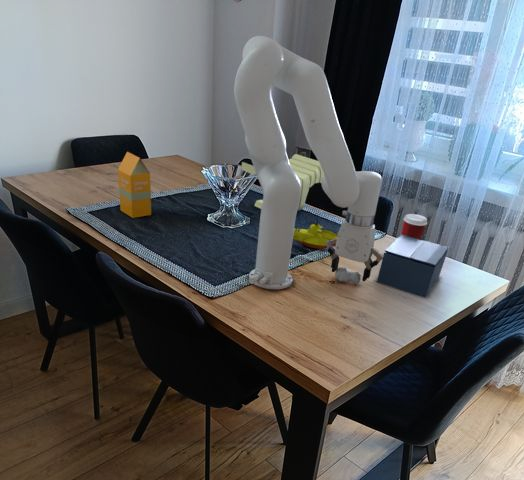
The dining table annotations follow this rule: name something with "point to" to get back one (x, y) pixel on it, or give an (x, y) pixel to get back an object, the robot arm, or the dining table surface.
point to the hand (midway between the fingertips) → (349, 275)
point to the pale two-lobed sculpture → (347, 275)
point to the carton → (413, 269)
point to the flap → (404, 246)
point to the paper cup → (414, 225)
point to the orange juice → (134, 187)
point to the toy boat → (314, 236)
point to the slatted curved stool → (305, 170)
